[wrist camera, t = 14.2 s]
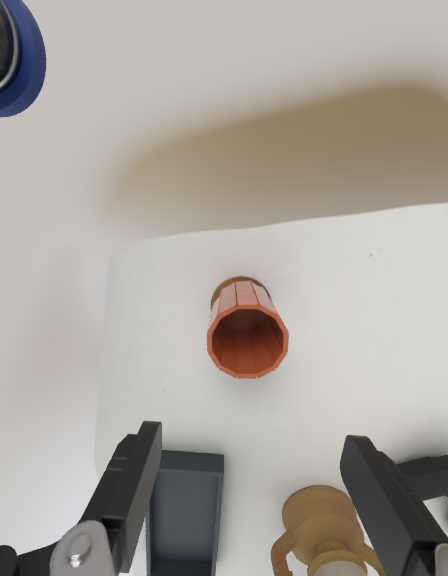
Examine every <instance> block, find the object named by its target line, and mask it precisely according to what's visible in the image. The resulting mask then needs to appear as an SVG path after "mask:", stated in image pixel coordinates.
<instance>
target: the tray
mask: <svg viewBox="0 0 448 576" xmlns="http://www.w3.org/2000/svg"><path fill="white" fill-rule="evenodd" d="M223 469H224V455H220V454H206V453H193V452H179V451H166V450H162V454H161V460H160V465H159V469H158V473H157V476H156V480H155V483H154V487H153V490H152V494H151V497H150V501H149V504H148V508H147V511H146V560H147V576H215V572H216V559H217V547H218V534H219V522H220V509H221V497H222V484H223Z"/></svg>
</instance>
